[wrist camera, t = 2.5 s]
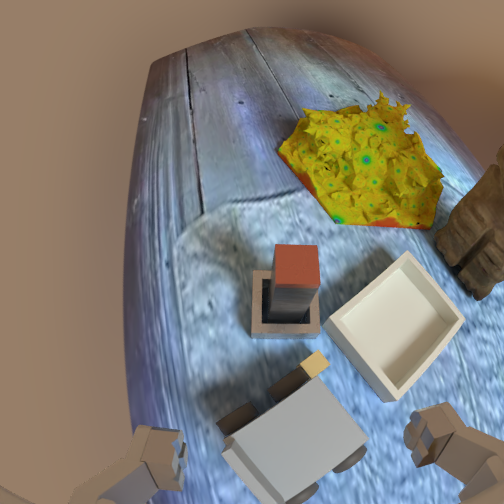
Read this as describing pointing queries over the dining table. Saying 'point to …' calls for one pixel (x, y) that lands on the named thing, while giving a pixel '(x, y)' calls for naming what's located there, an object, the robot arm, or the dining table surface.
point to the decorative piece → (365, 166)
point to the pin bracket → (281, 330)
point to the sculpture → (478, 233)
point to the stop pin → (292, 282)
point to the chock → (314, 364)
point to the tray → (395, 327)
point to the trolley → (291, 440)
